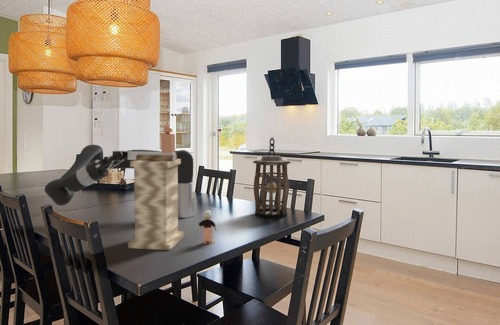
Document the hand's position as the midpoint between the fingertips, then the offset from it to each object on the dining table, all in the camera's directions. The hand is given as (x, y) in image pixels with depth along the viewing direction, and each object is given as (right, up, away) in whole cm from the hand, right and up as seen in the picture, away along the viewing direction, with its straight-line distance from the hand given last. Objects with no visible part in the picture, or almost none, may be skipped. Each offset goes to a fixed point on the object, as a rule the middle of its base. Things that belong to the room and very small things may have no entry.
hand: (126, 152), depth 145 cm
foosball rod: (+7, -3, -1) cm, 8 cm away
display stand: (+12, -35, +2) cm, 37 cm away
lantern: (+59, -31, +50) cm, 83 cm away
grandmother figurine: (+31, -35, +1) cm, 47 cm away
